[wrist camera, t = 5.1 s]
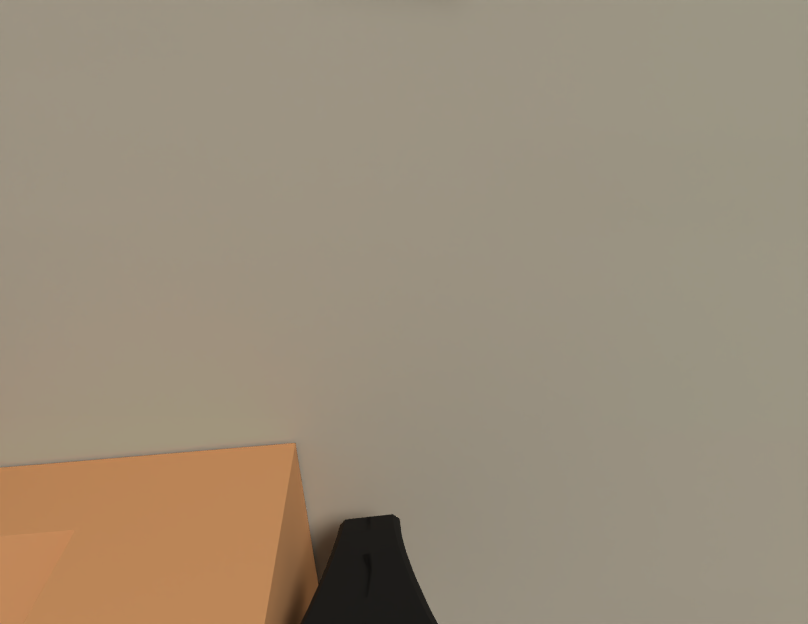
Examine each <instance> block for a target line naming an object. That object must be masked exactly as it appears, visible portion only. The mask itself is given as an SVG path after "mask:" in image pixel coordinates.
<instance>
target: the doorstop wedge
mask: <svg viewBox="0 0 808 624" xmlns="http://www.w3.org/2000/svg"><path fill="white" fill-rule="evenodd" d="M317 587H318V579H317V573H316V567H315V561H314V554H313V548H312V542H311V536H310V530H309V524H308V518H307V511H306V505H305V499H304V493H303V487H302V481H301V475H300V469H299V462H298V456H297V450H296V444H295V443H290V444H278V445H266V446H254V447H242V448H230V449H218V450H207V451H195V452H183V453H171V454H159V455H147V456H135V457H123V458H111V459H100V460H88V461H76V462H64V463H52V464H40V465H28V466H16V467H4V468H0V624H300V623H301V621H302V619H303V617H304V615H305V613H306V611H307V609H308V607H309V605H310V602H311V600H312V598H313V596H314V594H315V591H316V589H317Z"/></svg>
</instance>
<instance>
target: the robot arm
mask: <svg viewBox="0 0 808 624" xmlns="http://www.w3.org/2000/svg"><path fill="white" fill-rule="evenodd" d="M300 624H438V623H437V621H436V620H435V618H434V616H433V614H432V612H431V610H430V608H429V606H428V604H427V602H426V599H425V597H424V595H423V593H422V590H421V588H420V586H419V584H418V582H417V579H416V577H415V575H414V572H413V570H412V567H411V564H410V561H409V559H408V556H407V553H406V550H405V546H404V543H403V539H402V534H401V526H400V519H399V518H398V517H396V516H395V515H393V514H392V515H383V516H374V517H365V518H356V519H347V520H345V521H344V522H343V523H342V524H341V525H340V528H339V531H338V535H337V538H336V541H335V544H334V547H333V550H332V553H331V556H330V558H329V561H328V563H327V566H326V568H325V571H324V573H323V576H322V578H321V580H320V583H319V585H318V587H317V589H316V591H315V594H314V596H313V598H312V600H311V602H310V605H309V607H308V609H307V611H306V613H305V615H304V617H303V619H302V621H301V623H300Z"/></svg>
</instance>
